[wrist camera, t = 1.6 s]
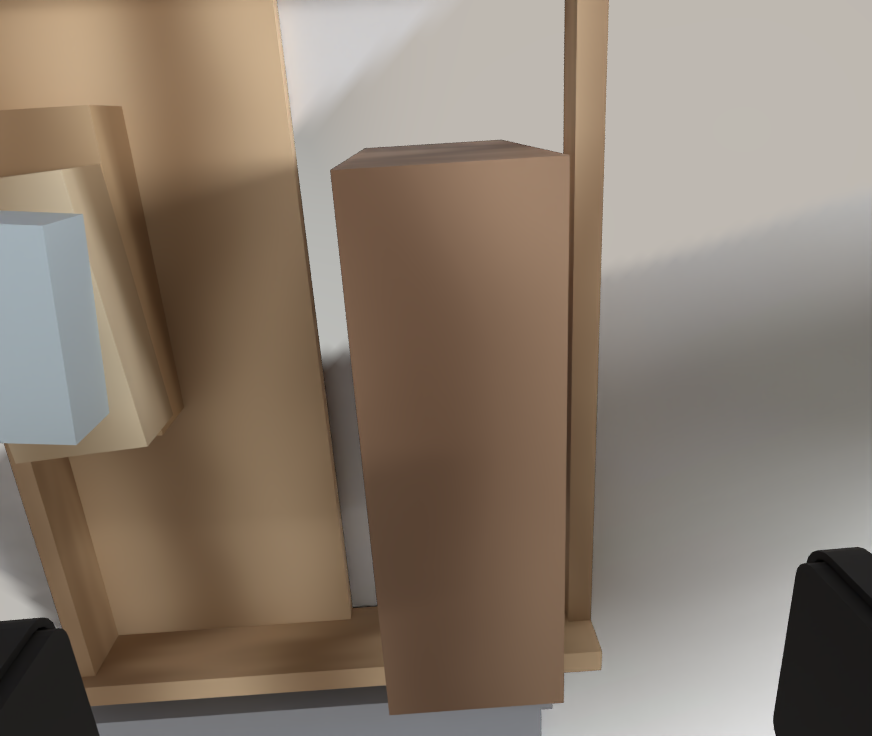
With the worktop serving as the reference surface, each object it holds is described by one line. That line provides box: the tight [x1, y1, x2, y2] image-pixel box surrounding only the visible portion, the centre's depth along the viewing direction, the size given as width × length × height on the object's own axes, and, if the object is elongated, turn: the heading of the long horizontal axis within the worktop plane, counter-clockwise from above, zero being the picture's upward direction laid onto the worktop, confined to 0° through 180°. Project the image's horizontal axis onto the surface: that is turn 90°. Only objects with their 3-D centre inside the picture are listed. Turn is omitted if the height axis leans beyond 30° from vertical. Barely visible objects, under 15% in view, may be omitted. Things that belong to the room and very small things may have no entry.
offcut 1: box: [0, 210, 109, 445], centre depth 15 cm, size 3×5×2 cm, turn 177°
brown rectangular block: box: [330, 140, 570, 715], centre depth 17 cm, size 4×12×9 cm, turn 3°
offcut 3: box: [0, 164, 173, 464], centre depth 17 cm, size 4×7×2 cm, turn 7°
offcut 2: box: [0, 105, 184, 436], centre depth 19 cm, size 4×9×2 cm, turn 4°
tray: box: [0, 0, 609, 706], centre depth 20 cm, size 18×22×3 cm
